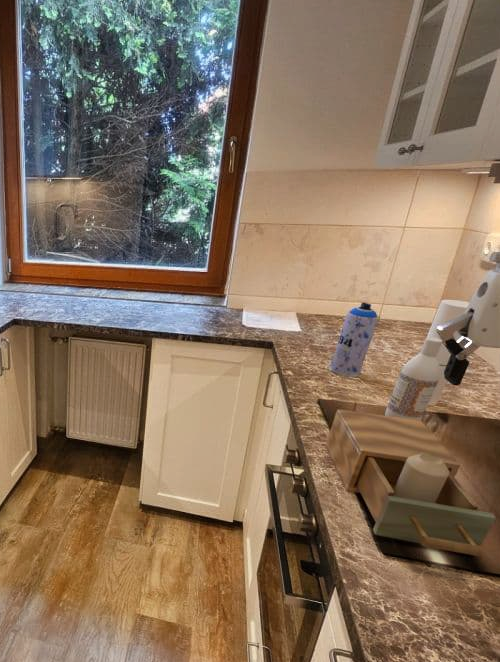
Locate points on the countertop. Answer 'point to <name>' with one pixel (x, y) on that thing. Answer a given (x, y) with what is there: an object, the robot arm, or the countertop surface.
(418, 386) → the bath foam
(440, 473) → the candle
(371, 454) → the cabinet
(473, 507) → the drawer
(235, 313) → the countertop surface
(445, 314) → the cylindrical container
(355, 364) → the aerosol can
